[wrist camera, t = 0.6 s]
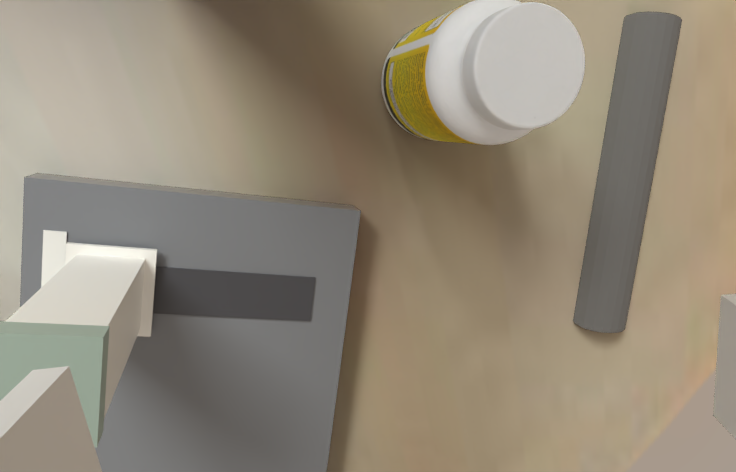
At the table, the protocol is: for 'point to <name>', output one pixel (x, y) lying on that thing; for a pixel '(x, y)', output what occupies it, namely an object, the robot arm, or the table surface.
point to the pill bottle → (484, 72)
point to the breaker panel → (212, 319)
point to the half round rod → (626, 169)
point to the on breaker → (83, 324)
